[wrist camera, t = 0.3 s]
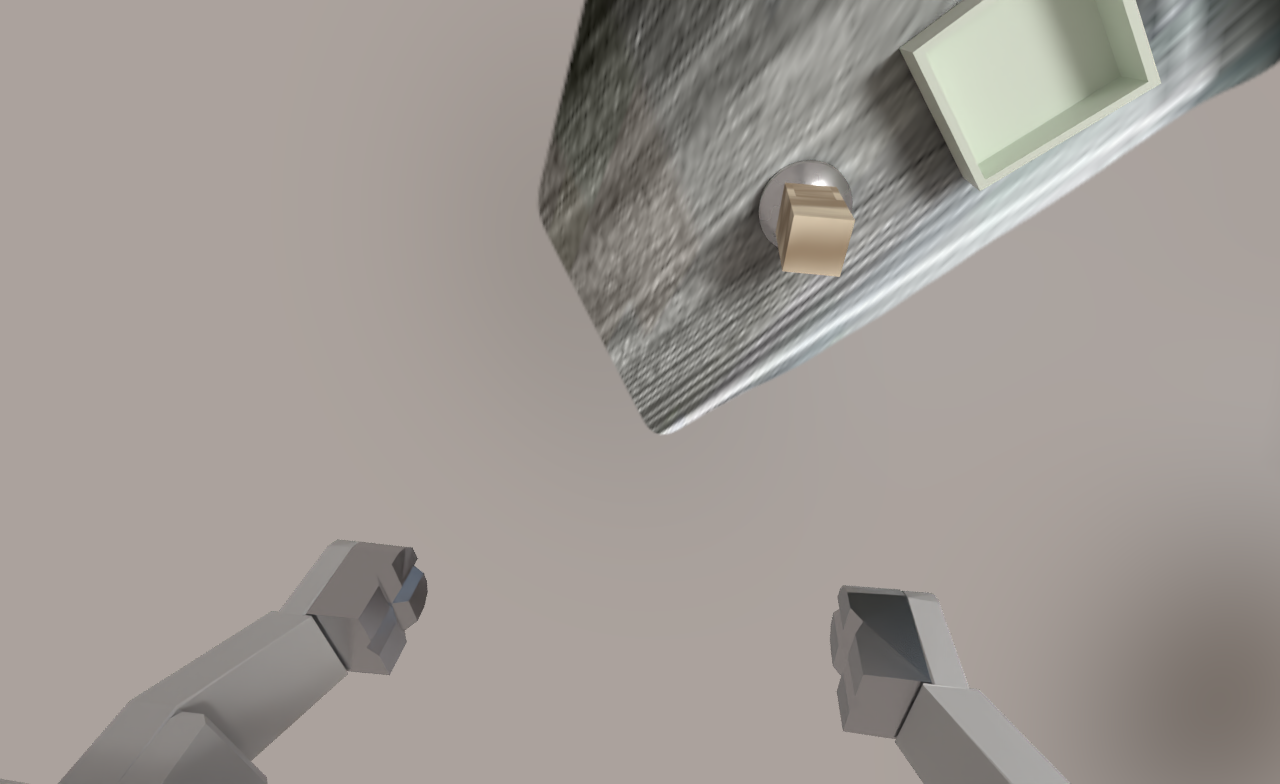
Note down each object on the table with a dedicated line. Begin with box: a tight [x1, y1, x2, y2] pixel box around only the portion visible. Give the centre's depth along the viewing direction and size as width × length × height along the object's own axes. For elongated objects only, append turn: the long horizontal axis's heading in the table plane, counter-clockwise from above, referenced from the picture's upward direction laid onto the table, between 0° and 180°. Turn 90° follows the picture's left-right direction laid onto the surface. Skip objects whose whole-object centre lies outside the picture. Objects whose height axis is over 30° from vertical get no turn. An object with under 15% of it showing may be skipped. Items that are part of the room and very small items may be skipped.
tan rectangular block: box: [775, 183, 855, 277], centre depth 46 cm, size 4×4×9 cm
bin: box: [899, 0, 1161, 191], centre depth 40 cm, size 12×12×4 cm
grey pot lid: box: [759, 160, 853, 247], centre depth 48 cm, size 8×8×4 cm
